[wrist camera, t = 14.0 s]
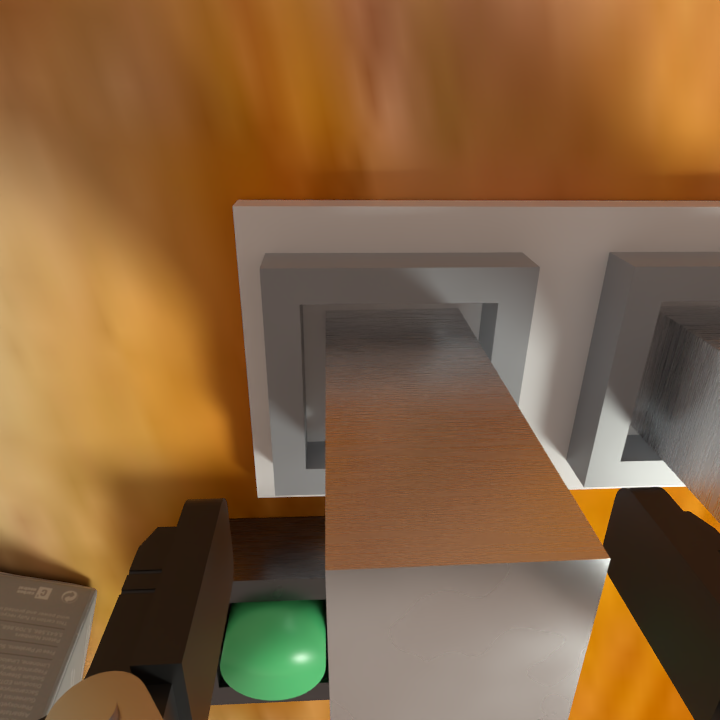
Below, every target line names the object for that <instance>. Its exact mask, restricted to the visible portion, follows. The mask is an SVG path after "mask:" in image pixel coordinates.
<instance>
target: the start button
mask: <svg viewBox="0 0 720 720" xmlns="http://www.w3.org/2000/svg"><path fill="white" fill-rule="evenodd" d="M325 668H326V599H322V600H295V601H267V602H240V603H231V608H230V613H229V618H228V624H227V629H226V635H225V640H224V645H223V651H222V656H221V662H220V671H221V674H222V676H223V679H224V680H225V681H226V683H227V684H228V685H229V686H230V687H231V688H233V689H234V690H235V691H237V692H239V693H241V694H243V695H245V696H248V697H251V698H255V699H260V700H269V701H272V700H285V699H290V698H294V697H297V696H300V695H302V694H304V693H306V692H308V691H310V690H311V689H313V688H314V687H315V686H316V685H317V684H318V683H319V682H320V680H321V679H322V677H323V675H324V673H325Z"/></svg>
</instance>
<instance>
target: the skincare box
mask: <svg viewBox="0 0 720 720" xmlns="http://www.w3.org/2000/svg"><path fill="white" fill-rule="evenodd" d="M96 597H97V590H96V589H95V588H91V587H86V586H82V585H77V584H71V583H66V582H60V581H53V580H46V579H39V578H33V577H26V576H20V575H14V574H9V573H4V572H0V720H39V719H41V718H42V717H44V716H46V715H48V713H49V711H50V710H51V708H52V707H53V706H54V704H55V703H56V702H57V700H58V699H59V698H60V697H61V696H62V695H63V694H64V693H65V692H67V691H68V690H69V689H70V688H71V687H73V686H74V685H76V684H77V683H79V682H80V681H82V676H83V670H84V665H85V659H86V654H87V649H88V643H89V638H90V633H91V627H92V621H93V615H94V609H95V603H96Z"/></svg>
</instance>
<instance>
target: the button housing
mask: <svg viewBox="0 0 720 720" xmlns="http://www.w3.org/2000/svg"><path fill="white" fill-rule="evenodd" d="M229 523H230V532H231V541H232V550H233V562H234V569H233V584H232V591H231V596H230V602H229V607H228V613H227V618H226V624H225V629H224V634H223V640H222V645H221V651H220V656H219V662H218V667H217V672H216V678H215V683H214V689H213V694H212V700H211V705H224V704H245V703H267V702H288V701H310V700H330V694H329V665H328V636H327V607H326V668H325V673H324V675H323V677H322V679H321V680H320V682H319V683H318V684H317V685H316V686H315V687H314V688H313V689H311V690H310V691H308V692H306V693H304V694H302V695H300V696H297V697H294V698H290V699H285V700H272V701H269V700H260V699H255V698H251V697H248V696H245V695H243V694H241V693H239V692H237V691H235V690H234V689H233V688H231V687H230V686H229V685H228V684H227V683H226V681H225V680H224V679H223V676H222V674H221V671H220V662H221V656H222V651H223V645H224V640H225V635H226V629H227V624H228V618H229V613H230V608H231V603H240V602H267V601H295V600H322V599H326V578H325V516H318V517H283V518H249V519H229Z"/></svg>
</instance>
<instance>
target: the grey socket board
mask: <svg viewBox="0 0 720 720" xmlns="http://www.w3.org/2000/svg"><path fill="white" fill-rule="evenodd" d="M233 217H234V229H235V241H236V252H237V264H238V275H239V287H240V298H241V310H242V322H243V333H244V345H245V356H246V368H247V379H248V391H249V402H250V414H251V426H252V437H253V449H254V460H255V472H256V483H257V495H258V498H270V497H307V496H325V409H326V311H334V310H390V309H446V308H459V310H460V312H461V313H462V315H463V317H464V318H465V320H466V322H467V323H468V325H469V326H470V328H471V330H472V331H473V333H474V335H475V336H476V338H477V340H478V341H479V343H480V345H481V346H482V348H483V350H484V351H485V353H486V354H487V356H488V358H489V359H490V361H491V363H492V364H493V366H494V368H495V369H496V371H497V373H498V374H499V376H500V378H501V379H502V381H503V382H504V384H505V386H506V387H507V389H508V391H509V392H510V394H511V396H512V397H513V399H514V401H515V402H516V404H517V406H518V407H519V409H520V410H521V412H522V414H523V415H524V417H525V419H526V420H527V422H528V424H529V425H530V427H531V429H532V430H533V432H534V434H535V435H536V437H537V438H538V440H539V442H540V443H541V445H542V447H543V448H544V450H545V452H546V453H547V455H548V457H549V458H550V460H551V461H552V463H553V465H554V466H555V468H556V470H557V471H558V473H559V475H560V476H561V478H562V480H563V481H564V483H565V485H566V486H567V488H568V489H605V488H632V487H679V486H686V485H685V484H684V483H683V482H682V481H681V480H680V479H679V478H678V477H677V476H676V474H675V473H674V472H673V471H672V470H671V469H670V468H669V467H668V466H667V465H666V464H665V462H664V461H663V460H662V459H661V458H660V457H659V456H658V455H657V454H656V453H655V451H654V450H653V449H652V448H651V447H650V446H649V445H648V444H647V443H646V442H645V440H644V439H643V438H642V437H641V436H640V435H639V434H638V433H637V432H636V431H635V429H634V428H633V427H632V426H631V425H630V422H631V419H632V415H633V411H634V407H635V403H636V399H637V396H638V392H639V388H640V384H641V380H642V376H643V373H644V369H645V365H646V361H647V357H648V353H649V350H650V346H651V342H652V338H653V334H654V331H655V327H656V323H657V319H658V315H659V311H660V308H661V306H720V201H599V200H237V201H236V203H235V204H234V205H233Z"/></svg>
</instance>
